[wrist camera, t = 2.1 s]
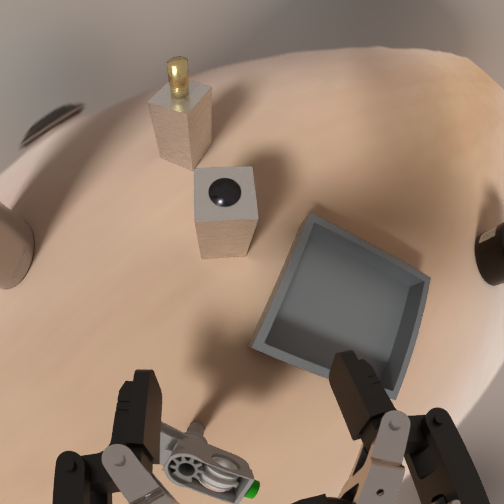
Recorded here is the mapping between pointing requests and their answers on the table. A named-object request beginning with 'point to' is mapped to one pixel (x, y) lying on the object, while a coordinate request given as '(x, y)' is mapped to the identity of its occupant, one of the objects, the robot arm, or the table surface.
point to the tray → (343, 305)
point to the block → (224, 210)
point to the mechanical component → (204, 465)
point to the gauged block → (182, 116)
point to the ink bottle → (491, 255)
